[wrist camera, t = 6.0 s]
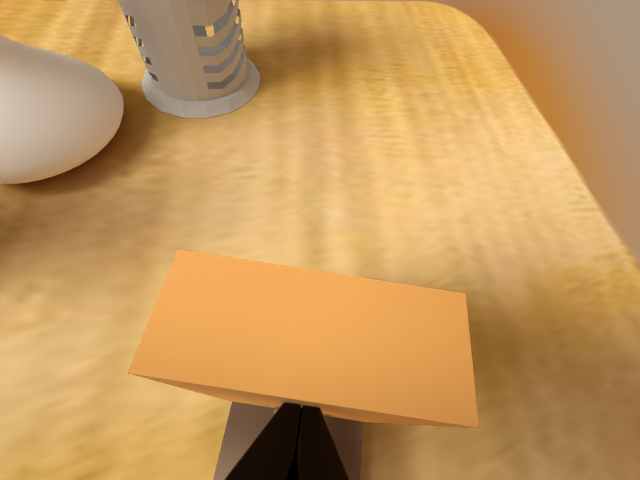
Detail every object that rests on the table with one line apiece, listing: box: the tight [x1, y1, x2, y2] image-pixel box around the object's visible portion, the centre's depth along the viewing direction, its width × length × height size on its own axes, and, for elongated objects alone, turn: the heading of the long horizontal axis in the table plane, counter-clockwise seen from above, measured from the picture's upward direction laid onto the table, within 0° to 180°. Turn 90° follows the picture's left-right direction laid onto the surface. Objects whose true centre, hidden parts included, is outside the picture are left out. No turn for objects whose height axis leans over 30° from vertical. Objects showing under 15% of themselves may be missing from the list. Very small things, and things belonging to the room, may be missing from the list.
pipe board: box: [213, 401, 363, 480], centre depth 12 cm, size 13×8×5 cm, turn 172°
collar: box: [128, 249, 479, 428], centre depth 10 cm, size 2×6×10 cm, turn 82°
